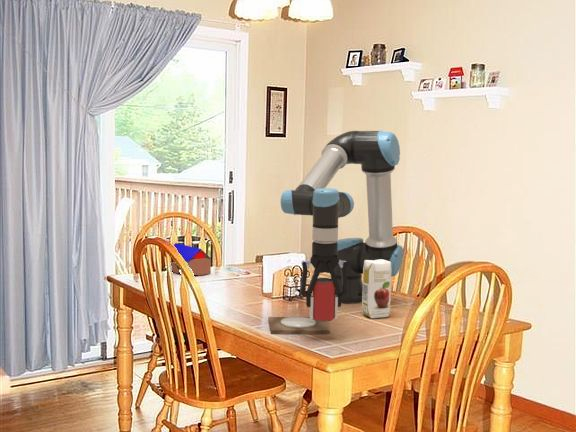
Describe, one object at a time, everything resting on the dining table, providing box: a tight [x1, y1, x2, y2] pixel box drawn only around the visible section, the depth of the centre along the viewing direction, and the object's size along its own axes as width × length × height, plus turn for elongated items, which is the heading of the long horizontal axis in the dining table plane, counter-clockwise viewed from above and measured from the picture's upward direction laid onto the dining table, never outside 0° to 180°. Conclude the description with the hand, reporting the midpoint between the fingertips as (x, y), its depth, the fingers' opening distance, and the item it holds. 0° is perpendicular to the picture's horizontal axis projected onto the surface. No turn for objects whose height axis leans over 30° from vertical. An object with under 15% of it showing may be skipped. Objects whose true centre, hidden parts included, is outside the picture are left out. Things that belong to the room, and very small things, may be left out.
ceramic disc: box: [281, 316, 316, 328], centre depth 217 cm, size 11×11×1 cm
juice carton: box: [361, 259, 392, 319], centre depth 233 cm, size 8×9×19 cm
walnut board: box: [267, 316, 331, 335], centre depth 217 cm, size 18×16×1 cm
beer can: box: [312, 277, 335, 323], centre depth 204 cm, size 7×7×12 cm
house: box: [171, 243, 212, 276], centre depth 305 cm, size 12×20×12 cm, turn 41°
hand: (323, 317), depth 204 cm, fingers closed on beer can, 6 cm apart
